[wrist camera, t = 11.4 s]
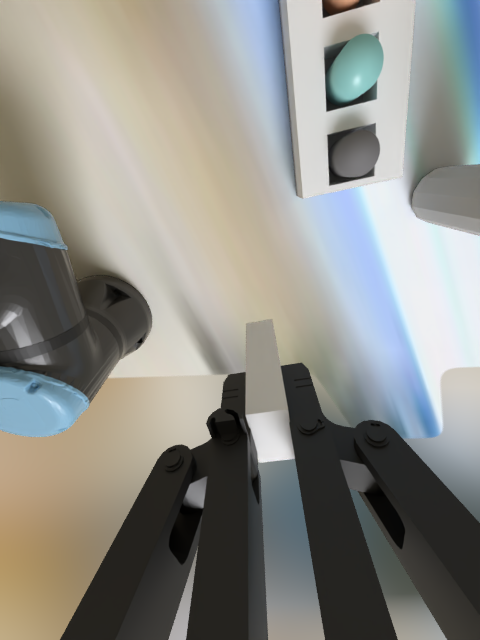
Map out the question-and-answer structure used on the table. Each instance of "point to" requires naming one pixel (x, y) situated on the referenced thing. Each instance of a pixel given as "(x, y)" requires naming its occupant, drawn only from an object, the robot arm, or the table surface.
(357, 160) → the button charcoal
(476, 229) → the water bottle
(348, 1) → the button terracotta
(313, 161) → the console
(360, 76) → the button teal
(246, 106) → the table surface
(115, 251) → the table surface
